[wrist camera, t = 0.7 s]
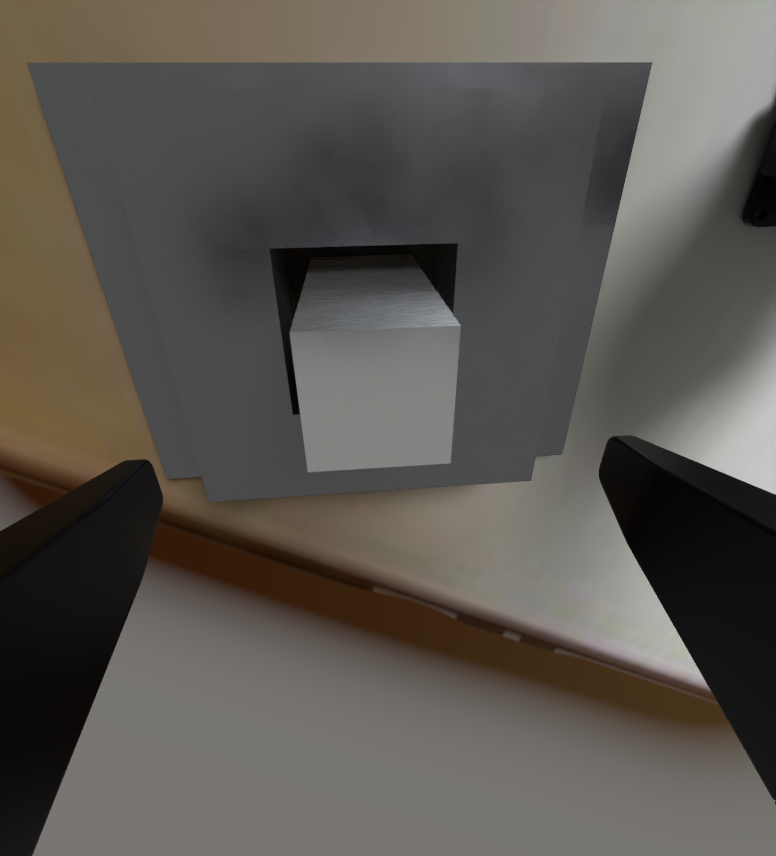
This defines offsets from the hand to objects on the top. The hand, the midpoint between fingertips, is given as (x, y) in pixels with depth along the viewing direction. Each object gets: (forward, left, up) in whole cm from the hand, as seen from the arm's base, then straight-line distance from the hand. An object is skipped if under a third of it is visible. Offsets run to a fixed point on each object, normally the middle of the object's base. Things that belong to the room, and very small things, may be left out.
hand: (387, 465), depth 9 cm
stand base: (0, 0, -12) cm, 12 cm away
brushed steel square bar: (0, 0, -12) cm, 12 cm away
